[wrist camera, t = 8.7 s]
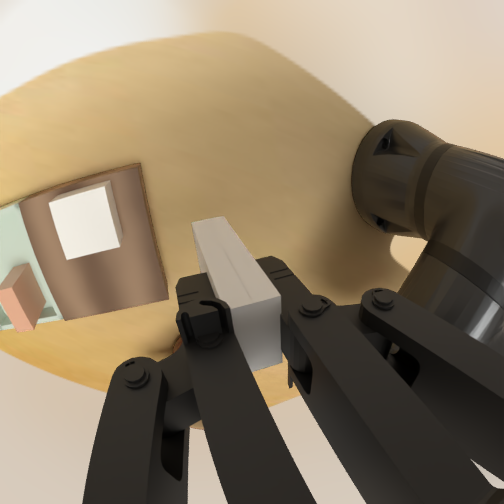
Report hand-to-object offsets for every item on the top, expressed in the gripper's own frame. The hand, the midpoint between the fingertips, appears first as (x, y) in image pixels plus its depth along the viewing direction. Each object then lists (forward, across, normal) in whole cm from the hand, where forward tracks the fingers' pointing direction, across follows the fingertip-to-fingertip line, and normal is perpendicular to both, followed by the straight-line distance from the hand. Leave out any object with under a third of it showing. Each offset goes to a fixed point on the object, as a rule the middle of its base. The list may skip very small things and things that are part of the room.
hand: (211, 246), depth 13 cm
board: (+15, +10, +4) cm, 18 cm away
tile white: (+12, +9, 0) cm, 14 cm away
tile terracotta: (+11, +18, +6) cm, 23 cm away
